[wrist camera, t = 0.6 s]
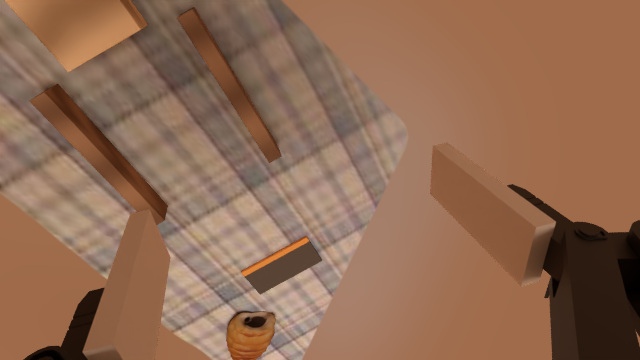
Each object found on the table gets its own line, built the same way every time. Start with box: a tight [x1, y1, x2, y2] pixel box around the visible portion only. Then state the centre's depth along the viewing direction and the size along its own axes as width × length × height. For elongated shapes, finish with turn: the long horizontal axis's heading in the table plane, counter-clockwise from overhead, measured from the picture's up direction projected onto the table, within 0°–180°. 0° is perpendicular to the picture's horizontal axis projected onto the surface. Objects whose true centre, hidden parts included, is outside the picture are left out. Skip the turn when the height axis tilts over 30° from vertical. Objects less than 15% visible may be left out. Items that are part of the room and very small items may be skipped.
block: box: [5, 0, 148, 72], centre depth 30 cm, size 7×7×4 cm
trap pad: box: [241, 236, 322, 294], centre depth 50 cm, size 5×10×1 cm, turn 115°
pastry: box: [226, 311, 276, 360], centre depth 53 cm, size 9×7×4 cm
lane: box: [30, 8, 281, 225], centre depth 36 cm, size 16×16×3 cm
